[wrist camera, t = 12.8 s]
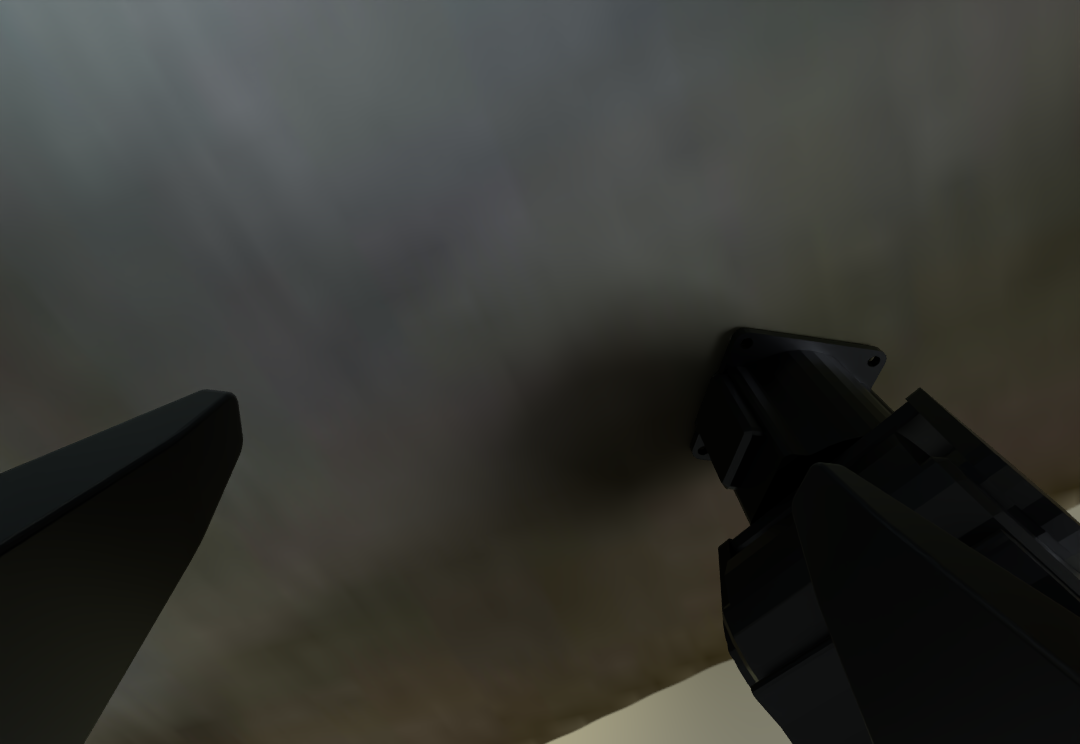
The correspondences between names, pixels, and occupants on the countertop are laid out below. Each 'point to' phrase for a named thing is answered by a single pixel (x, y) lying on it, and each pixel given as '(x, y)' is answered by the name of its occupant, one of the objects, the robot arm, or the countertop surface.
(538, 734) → the countertop surface
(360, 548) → the countertop surface
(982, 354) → the countertop surface
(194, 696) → the countertop surface
